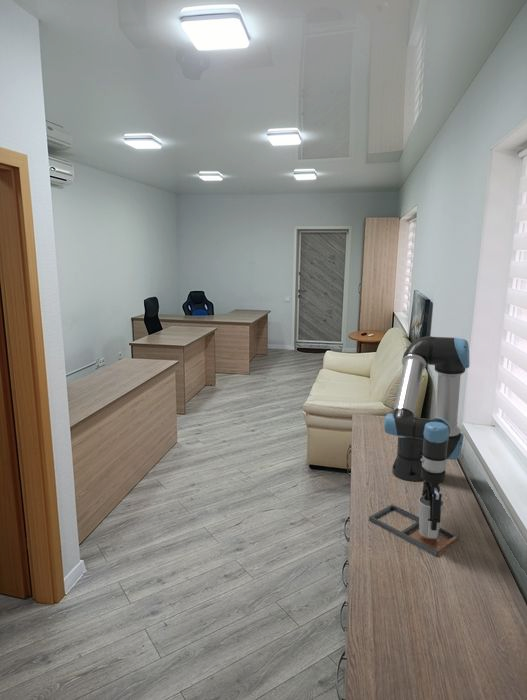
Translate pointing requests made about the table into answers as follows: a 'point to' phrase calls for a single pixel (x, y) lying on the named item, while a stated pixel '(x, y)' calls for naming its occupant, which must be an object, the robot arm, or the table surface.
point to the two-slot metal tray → (416, 532)
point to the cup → (426, 516)
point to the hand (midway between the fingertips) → (429, 530)
